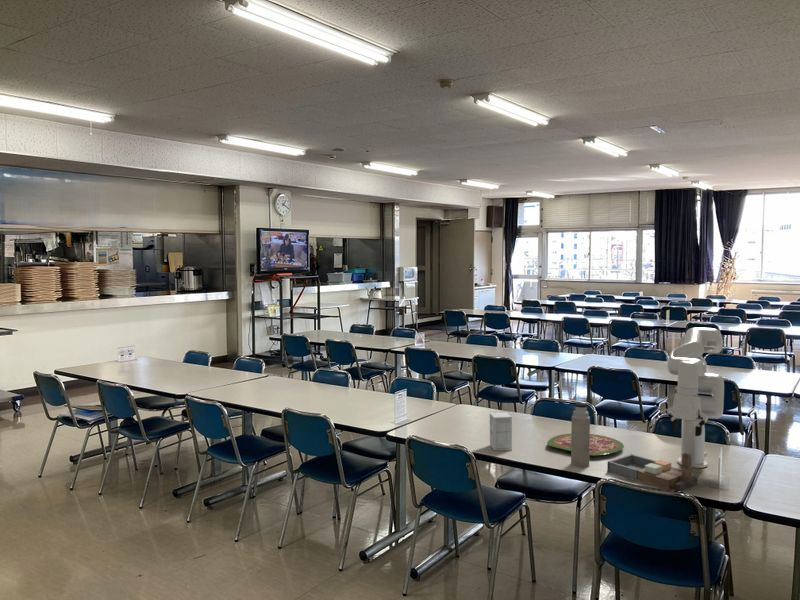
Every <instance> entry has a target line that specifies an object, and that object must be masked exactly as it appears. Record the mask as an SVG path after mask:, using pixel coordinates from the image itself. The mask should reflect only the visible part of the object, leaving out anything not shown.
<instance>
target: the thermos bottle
mask: <svg viewBox="0 0 800 600" xmlns="http://www.w3.org/2000/svg"><path fill="white" fill-rule="evenodd" d="M574 406H575V410H572V412H573V413H572V415H571V429H570V430H571V452H570V465H571V466H572V467H575V468H579V469H580V468H581V469H585V468H589V467H590V455H589V449H590V434H591V416H590V415H589V411H588V410H587V404H585V403H579V402H578V403H575V404H574Z"/></svg>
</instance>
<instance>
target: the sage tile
mask: <svg viewBox="0 0 800 600" xmlns="http://www.w3.org/2000/svg"><path fill="white" fill-rule="evenodd" d="M645 471H646V472H649V473H652V474H658V473H661V472H662V466H660V465H657V464H653V463H650V464H647V465H645Z"/></svg>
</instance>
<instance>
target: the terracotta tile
mask: <svg viewBox="0 0 800 600" xmlns="http://www.w3.org/2000/svg"><path fill="white" fill-rule="evenodd" d="M655 461H656V462H654V464H657V465H660V466H662V470H663V471H666V470H669V469H671V467H672V462H670V461H666V460H662V459H659V460H655Z"/></svg>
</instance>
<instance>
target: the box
mask: <svg viewBox="0 0 800 600" xmlns="http://www.w3.org/2000/svg"><path fill="white" fill-rule="evenodd" d="M656 461H657V460H656V459H655V460H654V459H651V458H647V457H643V456H639V455H636V454H632V453H630V454H627V455H624V456H620V457H618V458H615V459H612V460H609V461H607V468H606V469H607V472H606V473H610V474H614V475H617V476H620V477H623V478H626V479H630V480H632V481H638V480H637V475H638V471H639V470H642V469H644V468H645V465H647V464H650V463H653V464H654V462H656Z"/></svg>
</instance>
